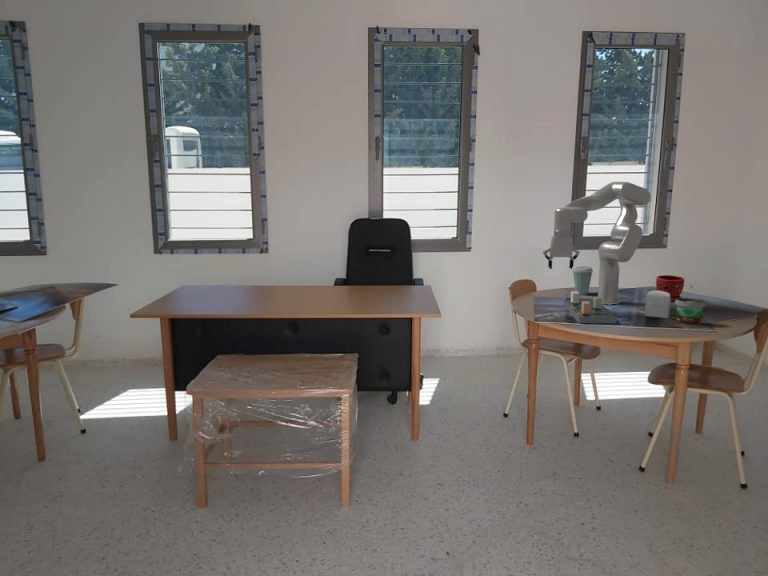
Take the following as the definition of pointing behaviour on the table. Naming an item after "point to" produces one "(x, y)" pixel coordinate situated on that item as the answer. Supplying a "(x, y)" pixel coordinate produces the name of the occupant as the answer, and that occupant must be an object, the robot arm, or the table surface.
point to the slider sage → (597, 302)
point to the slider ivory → (574, 297)
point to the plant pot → (670, 285)
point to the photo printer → (658, 304)
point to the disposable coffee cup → (582, 279)
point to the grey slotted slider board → (595, 314)
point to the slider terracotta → (585, 307)
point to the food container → (689, 311)
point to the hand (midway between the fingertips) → (560, 268)
